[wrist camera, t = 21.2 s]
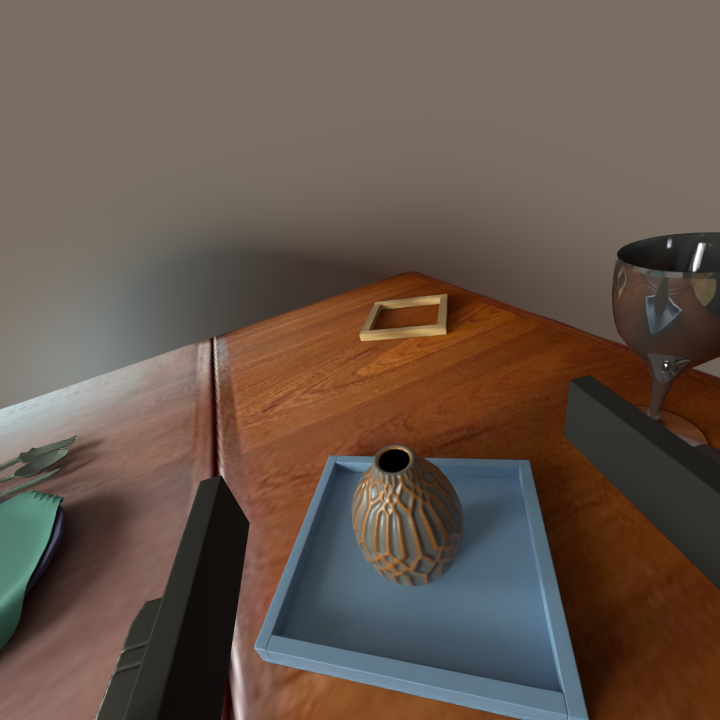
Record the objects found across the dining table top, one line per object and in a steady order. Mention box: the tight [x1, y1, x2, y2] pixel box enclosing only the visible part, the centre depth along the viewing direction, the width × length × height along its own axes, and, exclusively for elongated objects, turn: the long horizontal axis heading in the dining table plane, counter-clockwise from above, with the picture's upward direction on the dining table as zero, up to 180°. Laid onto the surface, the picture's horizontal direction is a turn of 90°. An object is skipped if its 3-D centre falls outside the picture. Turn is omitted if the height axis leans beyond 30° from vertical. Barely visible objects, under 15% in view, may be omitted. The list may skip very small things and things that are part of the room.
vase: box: [352, 444, 464, 586], centre depth 22 cm, size 7×7×9 cm
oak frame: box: [360, 294, 448, 341], centre depth 57 cm, size 13×13×1 cm
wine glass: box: [612, 232, 720, 447], centre depth 25 cm, size 8×8×15 cm
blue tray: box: [254, 456, 589, 720], centre depth 24 cm, size 17×15×2 cm
